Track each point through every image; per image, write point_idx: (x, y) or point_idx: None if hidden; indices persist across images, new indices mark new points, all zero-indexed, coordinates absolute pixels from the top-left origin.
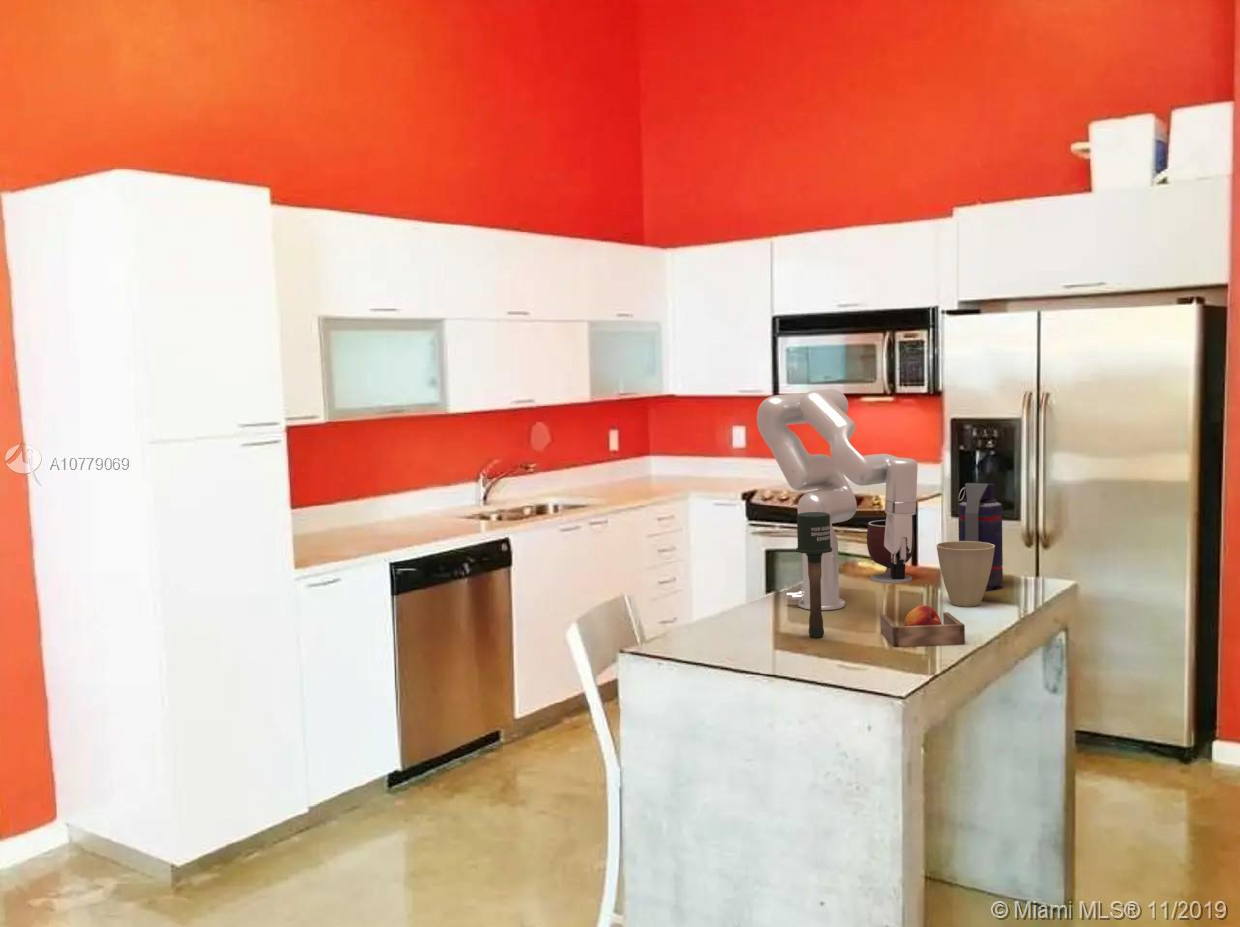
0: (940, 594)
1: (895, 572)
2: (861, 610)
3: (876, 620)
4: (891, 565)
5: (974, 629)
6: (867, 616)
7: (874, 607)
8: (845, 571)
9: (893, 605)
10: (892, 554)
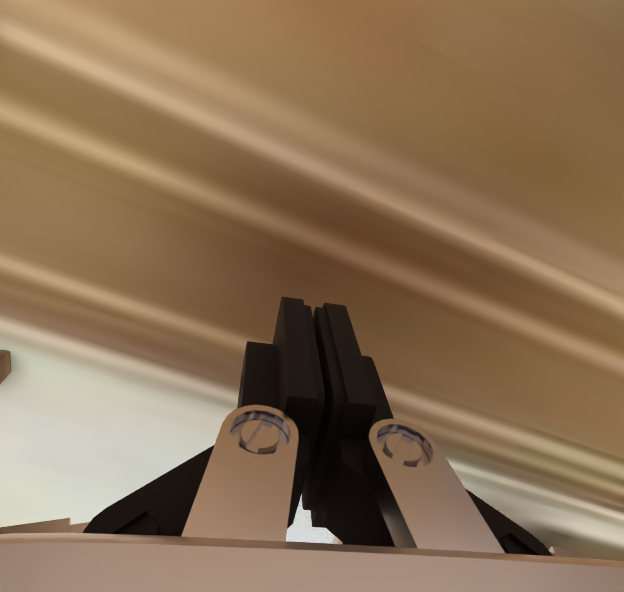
0: (596, 513)
1: (275, 359)
2: (554, 140)
3: (316, 122)
4: (343, 378)
5: (24, 465)
6: (421, 113)
7: (570, 229)
8: None
9: (553, 321)
10: (405, 525)
